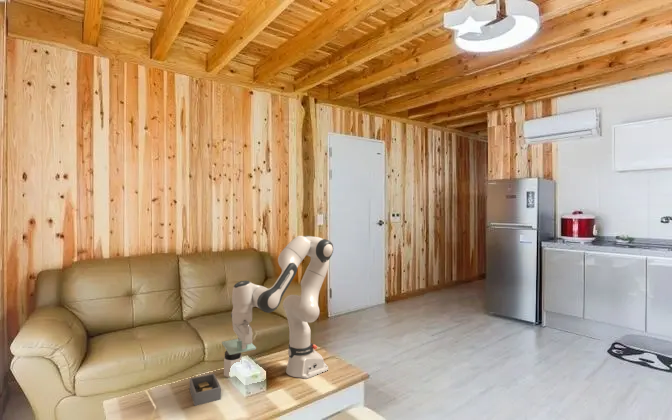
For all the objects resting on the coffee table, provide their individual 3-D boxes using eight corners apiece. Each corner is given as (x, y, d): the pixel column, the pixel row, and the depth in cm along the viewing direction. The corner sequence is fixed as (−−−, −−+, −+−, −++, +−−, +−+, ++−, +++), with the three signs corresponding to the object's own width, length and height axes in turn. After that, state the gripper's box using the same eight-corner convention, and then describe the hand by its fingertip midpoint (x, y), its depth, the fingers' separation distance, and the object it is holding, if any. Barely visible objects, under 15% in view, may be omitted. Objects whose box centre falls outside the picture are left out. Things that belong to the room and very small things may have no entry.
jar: (226, 380, 175) (226, 356, 175) (221, 373, 182) (221, 350, 182) (243, 376, 180) (244, 352, 180) (238, 369, 187) (239, 347, 187)
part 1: (206, 387, 167) (206, 381, 167) (209, 391, 164) (209, 384, 164) (197, 390, 164) (197, 383, 164) (200, 394, 161) (200, 387, 161)
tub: (213, 385, 170) (214, 373, 170) (220, 401, 157) (220, 387, 157) (189, 391, 165) (189, 378, 165) (194, 407, 152) (194, 394, 152)
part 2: (212, 393, 162) (212, 387, 162) (211, 398, 158) (211, 391, 158) (202, 394, 161) (202, 388, 161) (201, 399, 157) (201, 393, 157)
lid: (246, 338, 177) (246, 330, 177) (256, 349, 163) (256, 340, 163) (221, 343, 171) (221, 334, 171) (229, 354, 157) (229, 345, 157)
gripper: (255, 323, 154) (256, 354, 154) (243, 310, 172) (243, 338, 172) (241, 325, 151) (241, 357, 151) (229, 312, 169) (230, 340, 169)
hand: (242, 347), depth 162 cm, fingers closed on lid, 3 cm apart
